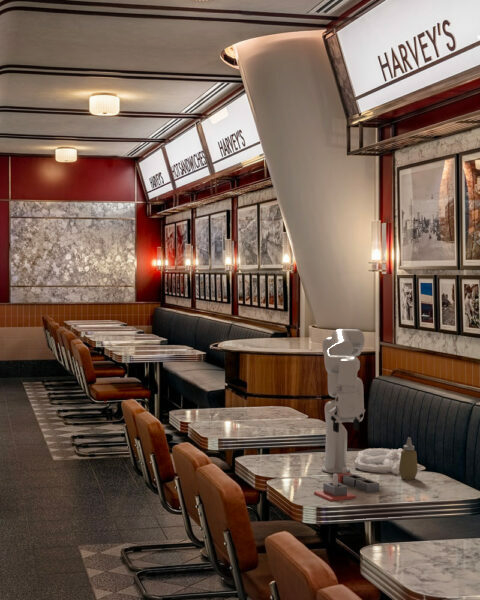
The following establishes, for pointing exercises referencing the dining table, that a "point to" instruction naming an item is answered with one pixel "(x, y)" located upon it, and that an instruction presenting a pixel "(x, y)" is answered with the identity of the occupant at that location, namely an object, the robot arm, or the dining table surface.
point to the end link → (335, 489)
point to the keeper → (332, 498)
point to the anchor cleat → (340, 476)
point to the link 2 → (367, 485)
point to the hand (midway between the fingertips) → (346, 430)
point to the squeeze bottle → (408, 462)
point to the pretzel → (378, 460)
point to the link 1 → (351, 480)
